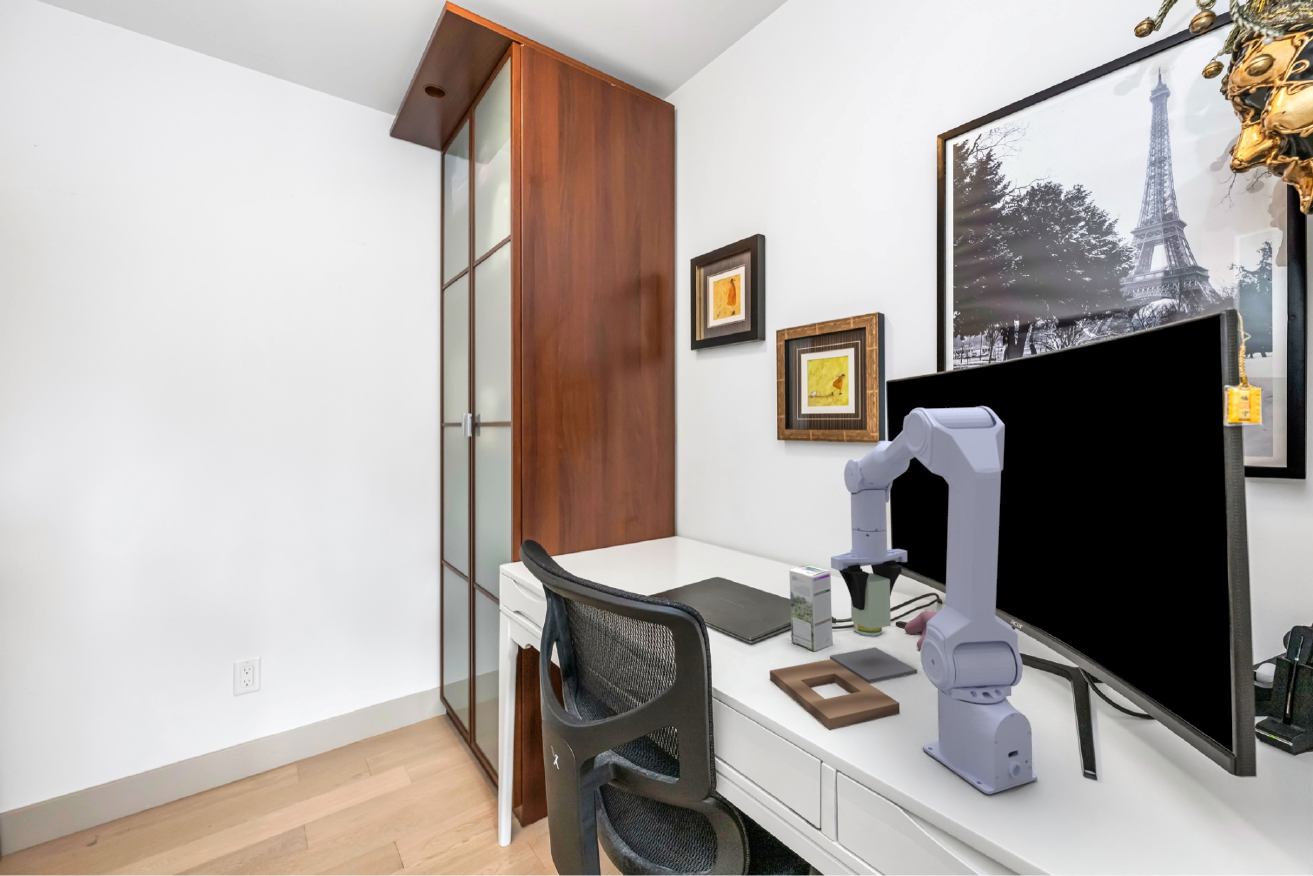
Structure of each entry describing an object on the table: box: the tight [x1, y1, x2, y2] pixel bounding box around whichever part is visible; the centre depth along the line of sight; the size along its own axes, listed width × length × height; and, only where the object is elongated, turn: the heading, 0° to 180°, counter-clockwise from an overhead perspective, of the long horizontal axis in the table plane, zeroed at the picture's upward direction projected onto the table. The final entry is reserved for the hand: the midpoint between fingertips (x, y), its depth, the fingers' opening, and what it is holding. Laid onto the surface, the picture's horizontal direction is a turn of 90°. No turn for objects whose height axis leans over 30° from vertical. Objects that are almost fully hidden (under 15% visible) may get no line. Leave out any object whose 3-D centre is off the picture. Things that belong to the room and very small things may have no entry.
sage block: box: [850, 572, 892, 629], centre depth 93 cm, size 4×4×8 cm
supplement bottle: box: [853, 622, 883, 637], centre depth 108 cm, size 5×5×10 cm
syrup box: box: [789, 565, 834, 652], centre depth 103 cm, size 6×6×14 cm
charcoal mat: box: [829, 646, 918, 684], centre depth 93 cm, size 10×10×1 cm
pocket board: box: [769, 658, 901, 731], centre depth 83 cm, size 16×12×2 cm
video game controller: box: [904, 609, 938, 651], centre depth 102 cm, size 10×5×7 cm, turn 169°
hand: (870, 606), depth 93 cm, fingers closed on sage block, 4 cm apart
